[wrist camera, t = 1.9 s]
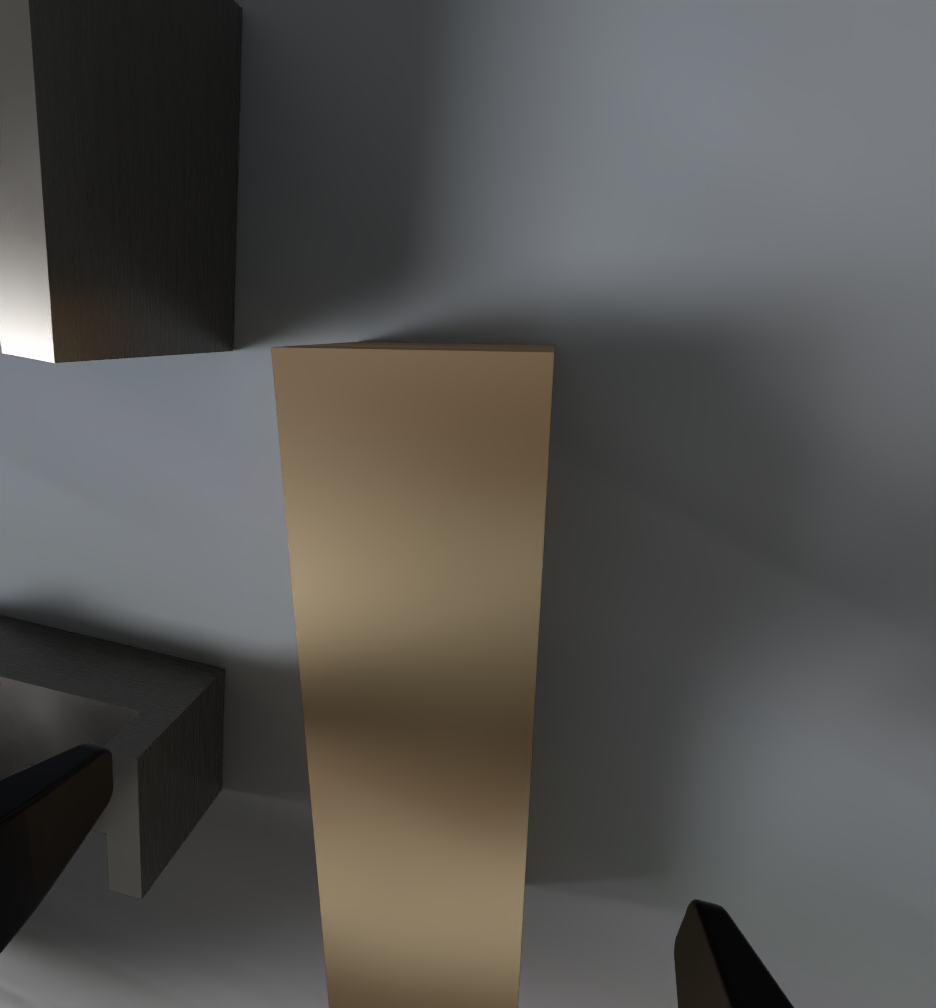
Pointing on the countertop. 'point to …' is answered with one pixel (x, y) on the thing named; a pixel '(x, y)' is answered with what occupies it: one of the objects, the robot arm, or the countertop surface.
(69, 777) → the robot arm
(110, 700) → the dark grey arch block
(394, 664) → the rail
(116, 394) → the countertop surface
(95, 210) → the bracket
